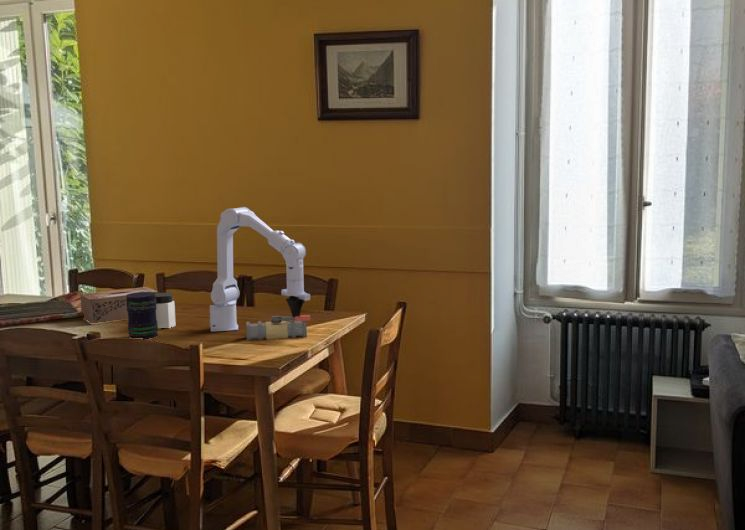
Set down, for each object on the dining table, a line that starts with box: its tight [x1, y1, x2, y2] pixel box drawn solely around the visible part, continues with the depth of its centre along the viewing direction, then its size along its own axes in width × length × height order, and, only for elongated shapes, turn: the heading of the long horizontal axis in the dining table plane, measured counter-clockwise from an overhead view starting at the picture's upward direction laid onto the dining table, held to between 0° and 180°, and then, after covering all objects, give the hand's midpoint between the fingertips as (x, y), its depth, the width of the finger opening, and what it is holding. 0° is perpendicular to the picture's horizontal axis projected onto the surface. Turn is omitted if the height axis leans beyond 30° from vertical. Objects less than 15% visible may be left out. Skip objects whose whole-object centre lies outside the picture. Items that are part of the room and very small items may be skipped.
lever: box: [270, 314, 311, 323], centre depth 250 cm, size 13×4×2 cm, turn 94°
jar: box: [155, 292, 176, 329], centre depth 268 cm, size 9×8×12 cm
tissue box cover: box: [79, 286, 159, 323], centre depth 287 cm, size 26×14×10 cm, turn 125°
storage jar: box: [126, 292, 159, 339], centre depth 253 cm, size 10×10×15 cm
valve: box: [245, 320, 308, 341], centre depth 250 cm, size 20×6×5 cm, turn 100°
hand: (296, 318), depth 252 cm, fingers closed
